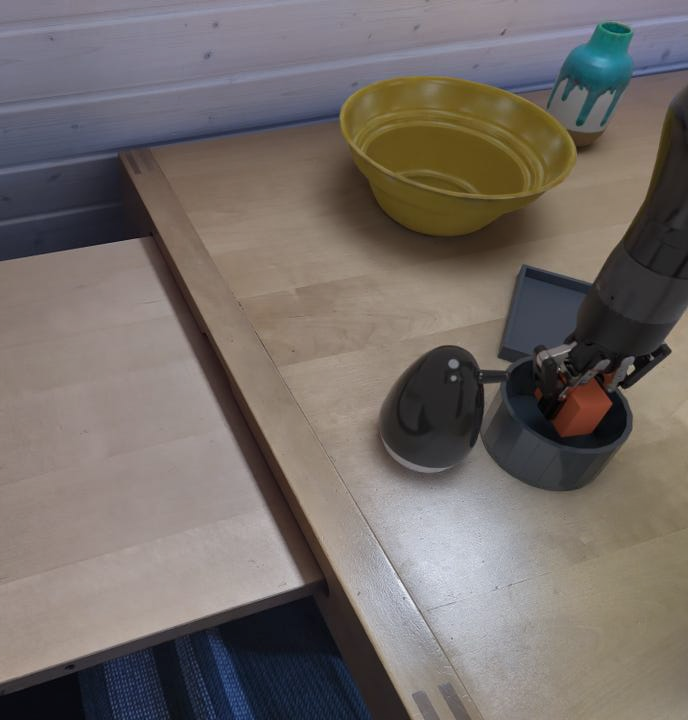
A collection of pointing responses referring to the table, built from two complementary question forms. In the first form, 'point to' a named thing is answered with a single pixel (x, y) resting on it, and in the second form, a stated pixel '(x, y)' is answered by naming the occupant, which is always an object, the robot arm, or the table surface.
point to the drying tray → (541, 311)
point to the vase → (593, 82)
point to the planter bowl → (453, 151)
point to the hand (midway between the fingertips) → (563, 411)
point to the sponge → (581, 410)
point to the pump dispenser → (436, 409)
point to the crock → (548, 436)
